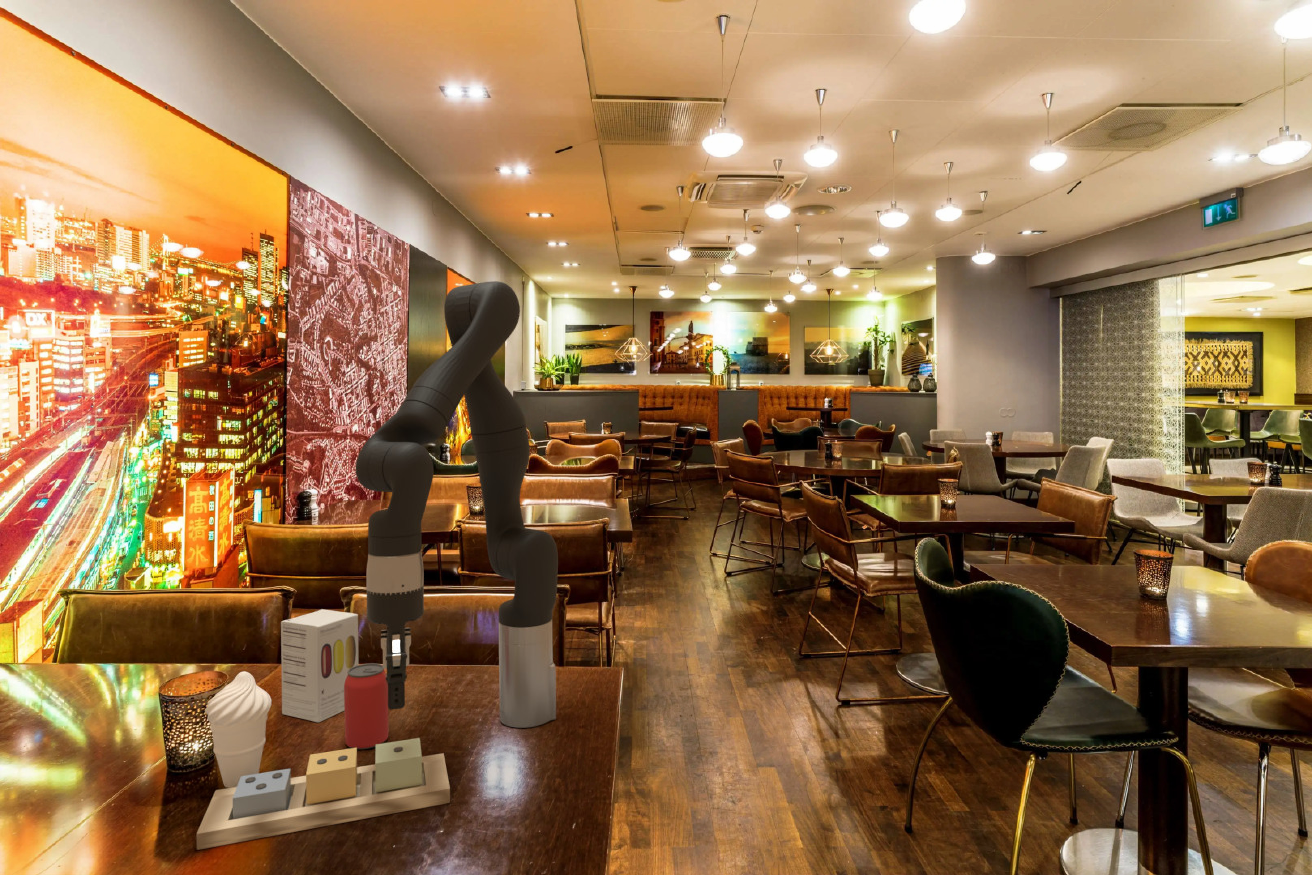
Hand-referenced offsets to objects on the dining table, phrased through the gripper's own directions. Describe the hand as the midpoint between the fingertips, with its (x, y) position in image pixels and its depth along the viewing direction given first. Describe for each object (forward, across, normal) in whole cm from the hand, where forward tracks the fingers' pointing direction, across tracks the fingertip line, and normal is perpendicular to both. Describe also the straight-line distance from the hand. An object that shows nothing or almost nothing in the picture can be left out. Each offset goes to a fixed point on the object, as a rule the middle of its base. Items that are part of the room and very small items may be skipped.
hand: (396, 706), depth 102 cm
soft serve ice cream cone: (+13, +12, +21) cm, 27 cm away
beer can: (+12, +18, +4) cm, 23 cm away
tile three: (+12, 0, +17) cm, 21 cm away
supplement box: (+12, +36, +12) cm, 40 cm away
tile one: (+10, 0, 0) cm, 10 cm away
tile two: (+10, 0, +8) cm, 13 cm away
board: (+12, 0, +8) cm, 15 cm away
